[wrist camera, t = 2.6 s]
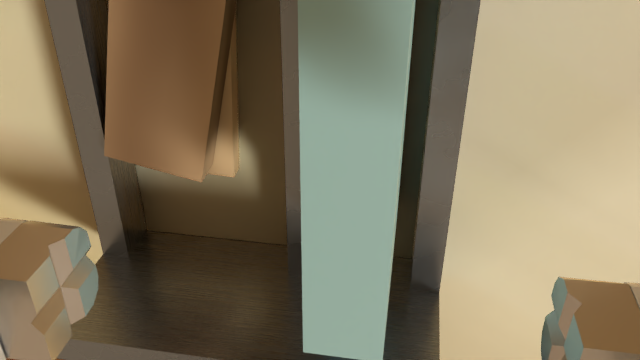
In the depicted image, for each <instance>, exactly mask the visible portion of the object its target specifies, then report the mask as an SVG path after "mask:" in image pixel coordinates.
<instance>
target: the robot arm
mask: <svg viewBox="0 0 640 360" xmlns="http://www.w3.org/2000/svg"><path fill="white" fill-rule="evenodd" d="M90 247H91V244H90V241H89V237H88V234H87V231H86V230H84V229H82V228H81V227H76V226H68V225H61V224H53V223H45V222H37V221H26V220H18V219H10V218H4V219H0V360H6V358H9V359H18V360H55V359H56V358H57V357H58V355H59V354H60V352H61V351H62V349H63V348H64V347H65V345H66V344H67V342H68V341H69V340H70V338H71V337H72V335H73V333H72V327H71V324H73V323H75V322H77V321H78V320H80V319H82V318H84V317H86V315H87V314H88V312H89V311H90V309H91V308H92V306H93V305H94V301H95V298H96V295H97V291H98V273H97V268H96V265H95V264H94V263H93V262H92V261H91V260H90V259H89V258H88V257H87V256H86V253H87V252H88V250H89V249H90ZM551 296H552V301H553V305H554V309H555V310H554V311H552V312H551V313H550V314H548V315H547V316H546V317H545V322H544V326H543V330H542V340H541V356H542V360H640V284H639V283H626V282H625V283H616V282H606V281H596V280H586V279H576V278H566V277H558V279H557V281H556V282H555V285H554V288H553V292H552V295H551Z"/></svg>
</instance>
